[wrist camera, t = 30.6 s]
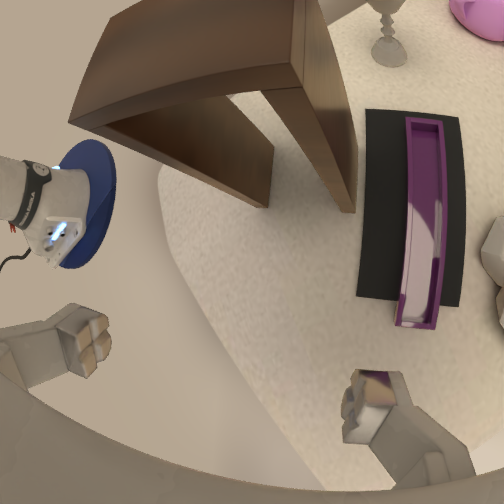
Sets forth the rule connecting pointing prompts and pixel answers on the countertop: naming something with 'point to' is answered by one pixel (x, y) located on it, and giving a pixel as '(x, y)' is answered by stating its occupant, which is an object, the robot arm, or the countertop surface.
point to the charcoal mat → (393, 206)
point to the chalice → (388, 35)
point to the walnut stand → (221, 91)
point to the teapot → (481, 17)
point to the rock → (495, 261)
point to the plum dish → (423, 225)
